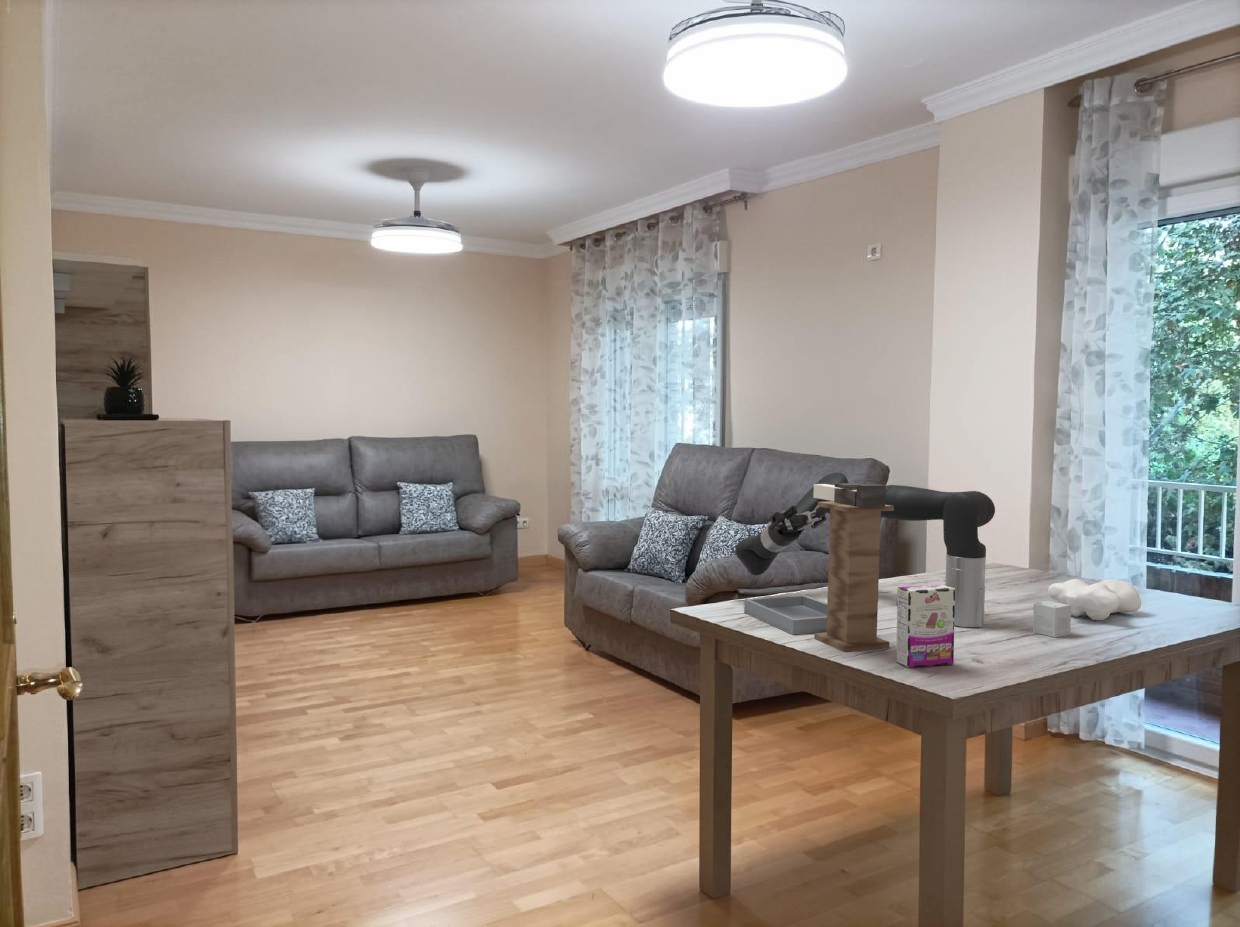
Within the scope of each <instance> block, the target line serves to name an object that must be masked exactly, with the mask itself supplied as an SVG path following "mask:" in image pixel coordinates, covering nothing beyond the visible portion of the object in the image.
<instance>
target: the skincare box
mask: <svg viewBox="0 0 1240 927" xmlns="http://www.w3.org/2000/svg"><path fill="white" fill-rule="evenodd" d="M1071 621H1072V614H1071V605H1067V604H1062V603H1058V602H1057V601H1053V600H1044V601H1039V602H1034V603H1033V624H1032V625H1033V630H1032V631H1033V633H1035V634H1038V635H1044V636H1048V637H1051V638H1061V637H1066V636H1070V635H1071V626H1072V625H1071V623H1072V622H1071Z"/></svg>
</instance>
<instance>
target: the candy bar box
mask: <svg viewBox="0 0 1240 927" xmlns="http://www.w3.org/2000/svg"><path fill="white" fill-rule="evenodd" d="M896 596H897V598H896V599H897V601H896V602H897V606H896V617H897V618H896V657H895V658H896V663H897V664H899V665H900V666H904V667H906V668H908V669H912V668H913V669H914V668H927V667H939V666H949V665H950V666H952V665H954V659H955V657H954V656H955V654H954V652H955V651H954V649H955V626H954V615H955V588H952V587H949V586H946V585H945V584H929V585H928V584H925V585H911V586H898V587H897V595H896Z"/></svg>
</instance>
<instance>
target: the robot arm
mask: <svg viewBox="0 0 1240 927" xmlns="http://www.w3.org/2000/svg"><path fill="white" fill-rule="evenodd" d="M837 483H850V482H849V480H848V478H847V476H846V475H845V474H843V473H841V472H832V473H829V474H826V475H825V476H823V477H822V478H820V479H819V480H818V481H817V482H816V483H815V484H828V485H835V484H837ZM813 494H814V485H813V486H812V487H811V488H810V489H809V490H808V491H807V493H805V494H804V495H803V497H802V498H801V499H800V500H798V502H797V503H796V504H795V505H791V506H790V507H788V508H787V509H786V510H783V511H782V512H781V513H780V512H779V511H777V512H774V513H773V514H772V515H771V516H770V517H769V518H768V519H767V520H766V523H767V525H766V526H765V527H764V529H763V530H761V532H759V533H758V534H757V535H752V536H749V537H746V538H744V539H741V540H740V541H739V542H738V543H737V544H736V546H735V548H734V554H735V556H736V557H737V558H738V560H740V562H741V564H743V566H744V567H745V568H746V570H747V571H748V573H750V574H751V575H753V576H761V575H763V574H764V573H765V572H767V570H768V569H769V568H770V566H771V565H772V564H773V562H774V560H775V559H776V558H777V556H778V555H779V554H780V553H781V552H782V551H783V550H784V549H786V548H788V547H789V546H790V545H791V544H793V543H794V542H795V541H796V540H797V539H799V538H800V536H801V534H802V533H803V532H804V530H805V528H807V527H810V526H811V528H812V529H817V528H818V527H819V526H820V525H821V524H823V523H824V522H826V521H827V520H828V519H827V517H826V514H829V515H830V508H825V507H820V506H818V502H829V501H830V500H824V499H819V498H814V497H813ZM885 505H890V506H894V511H881V519H882V518H883V519H889V520H898V521H910V522H917V521H918V522H919V521H936V520H939V521H940V520H941V521H943V524H942V525H943V526H942V527H943V543H944V545H945V548H946V558H945V579H944V580H945V583H944V585H946V586H949V587H952V588H955V615H954V627H962V628H983V627H984V622H985V620H984V619H985V602H986V601H985V596H986V585H985V584H986V561H987V559H986V558H987V547H986V545H985V544H984V543H983V542H981V541H980V540H979V531H978V528H981V527H984V526H986V525H987V524H988V523H989V522H990V521H992V520H993V518H994V516H995V513H996V507H995V503H994V502H993V500H992V498H990V497H989V496H988V495H987V494H985V493H983V492H981V491H978V490H970V491H969V490H967V491H941V490H935V489H934V490H933V489H929V488H923V487H916V486H909V485H900V484H888V485H886V496H885ZM816 507H818V508H816Z"/></svg>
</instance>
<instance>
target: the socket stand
mask: <svg viewBox="0 0 1240 927" xmlns="http://www.w3.org/2000/svg"><path fill="white" fill-rule="evenodd" d="M886 486H887V485H886V484H880V483H878V484H866V483H859V482H858V483H857V482H849V483H837V484H835V487H838V488H837V489H835V492H834V501H829V502H818V505H817V507H825V508H830V514H829V534H828V536H829V537H828V565H827V566H828V570H827V572H828V573H827V574H828V575H827V602H826V603H827V632H819V633H813V637H814V640H817V641H819V642H821V643H824V644H826V645H828V646H831V647H833V648H834V649H836V650H839V651H840V652H841V651H842V652H846V653H847V652H854V651H855V652H856V651H865V650H866V651H867V650H875V649H877V650H878V649H886V648H890V644H891V643H890V641H888V640H886V639H883V638H880V637H878V613H879V612H878V610H879V609H878V608H879V607H878V606H879V605H878V604H879V603H878V602H879V581H880V580H879V579H880V578H879V576H880V545H881V519H882V517H881V511H894V506H890V505H885V496H886ZM839 488H844V489H839ZM851 488H854V489H857V491H851V490H845V489H851Z"/></svg>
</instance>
